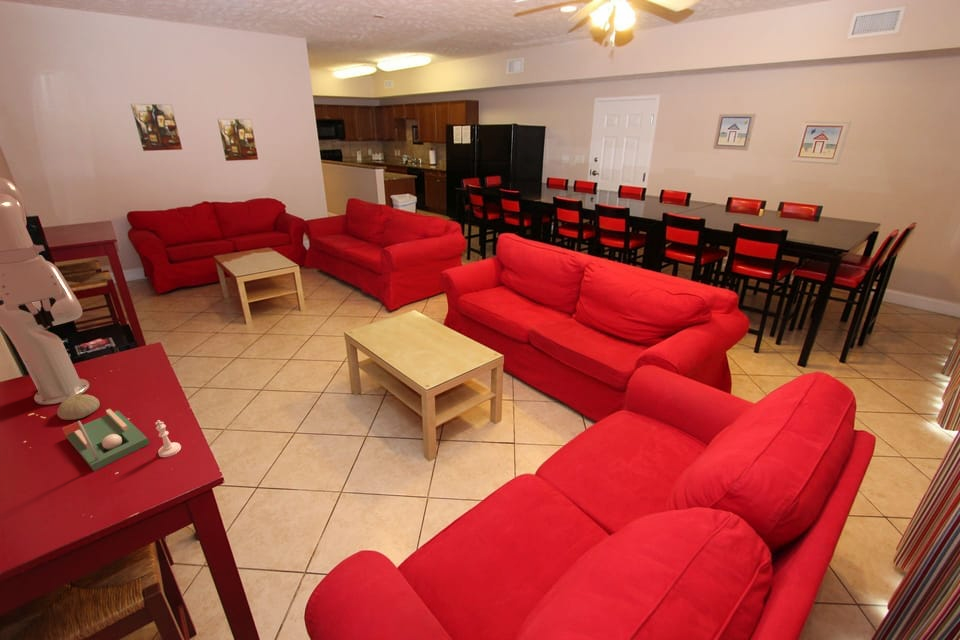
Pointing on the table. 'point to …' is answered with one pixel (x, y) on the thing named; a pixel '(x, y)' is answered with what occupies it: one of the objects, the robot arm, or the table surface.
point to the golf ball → (111, 441)
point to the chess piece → (166, 442)
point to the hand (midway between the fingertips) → (47, 325)
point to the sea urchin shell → (78, 407)
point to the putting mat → (94, 432)
